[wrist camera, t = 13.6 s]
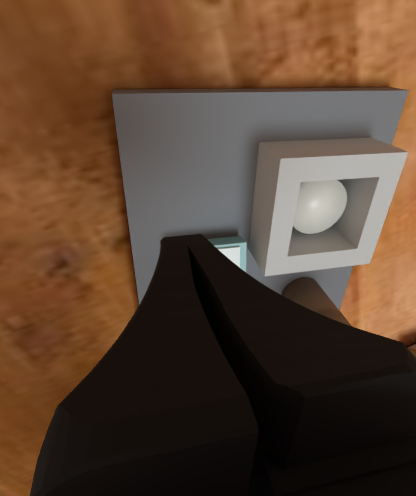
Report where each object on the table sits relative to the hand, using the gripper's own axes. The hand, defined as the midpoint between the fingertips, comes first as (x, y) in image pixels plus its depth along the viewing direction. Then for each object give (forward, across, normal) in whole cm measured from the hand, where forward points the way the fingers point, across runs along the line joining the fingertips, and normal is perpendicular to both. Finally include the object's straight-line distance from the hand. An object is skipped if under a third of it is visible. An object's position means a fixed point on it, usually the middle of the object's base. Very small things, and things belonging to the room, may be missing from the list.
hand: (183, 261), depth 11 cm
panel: (+10, -6, +5) cm, 13 cm away
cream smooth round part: (+8, -9, +2) cm, 12 cm away
